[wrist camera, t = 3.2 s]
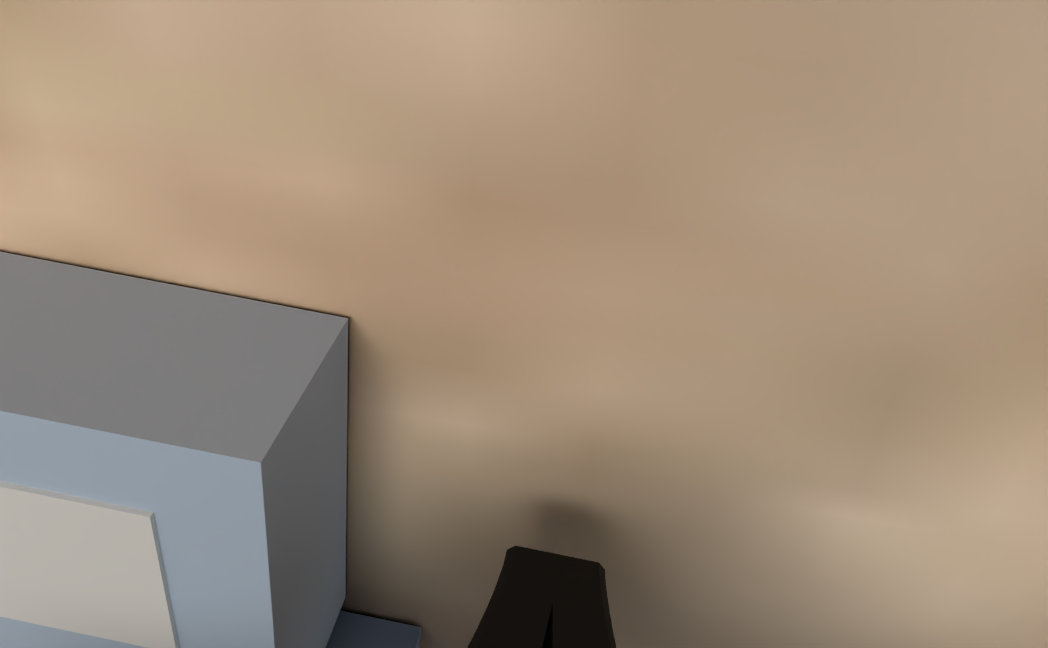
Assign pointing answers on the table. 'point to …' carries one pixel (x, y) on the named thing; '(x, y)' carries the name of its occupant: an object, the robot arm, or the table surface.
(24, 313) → the light blue box
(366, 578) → the table surface
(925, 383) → the table surface
